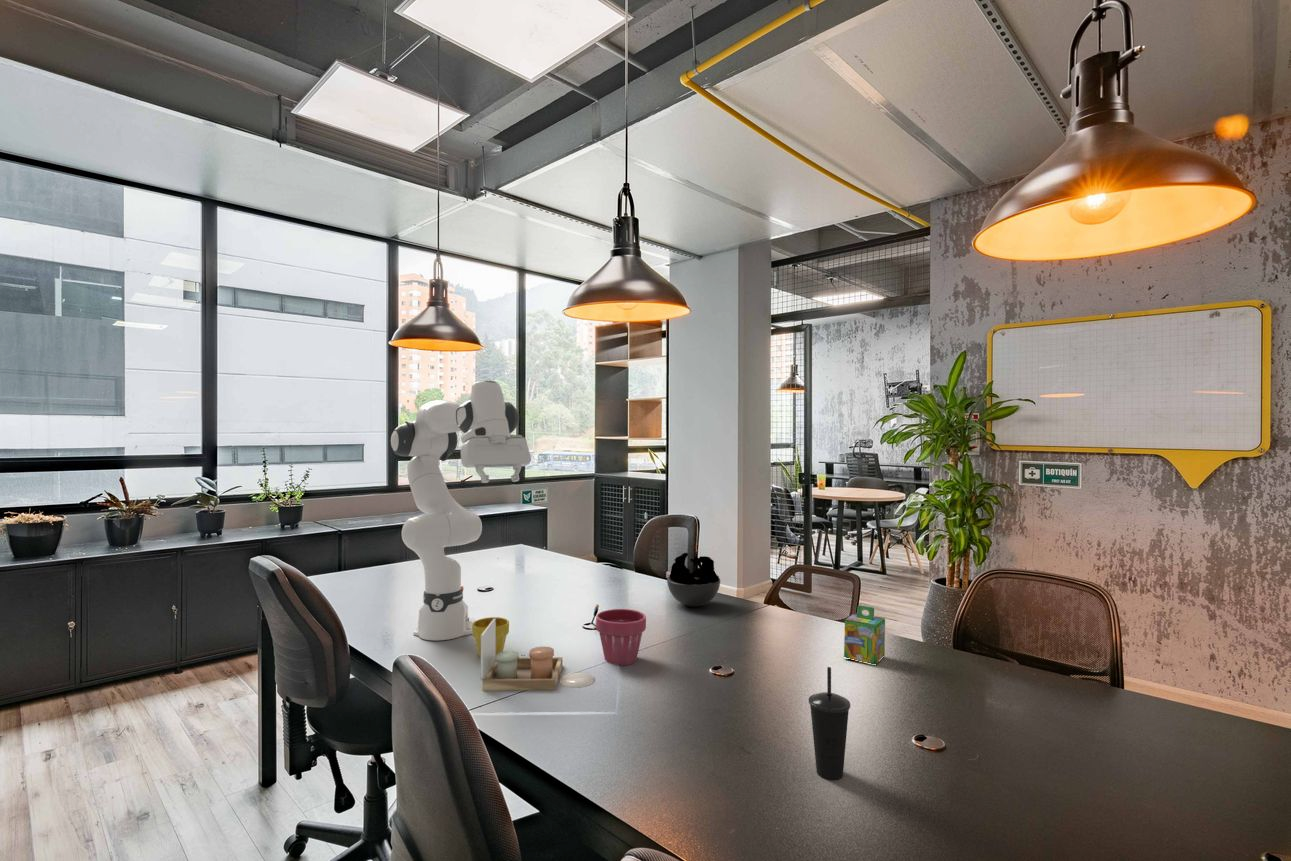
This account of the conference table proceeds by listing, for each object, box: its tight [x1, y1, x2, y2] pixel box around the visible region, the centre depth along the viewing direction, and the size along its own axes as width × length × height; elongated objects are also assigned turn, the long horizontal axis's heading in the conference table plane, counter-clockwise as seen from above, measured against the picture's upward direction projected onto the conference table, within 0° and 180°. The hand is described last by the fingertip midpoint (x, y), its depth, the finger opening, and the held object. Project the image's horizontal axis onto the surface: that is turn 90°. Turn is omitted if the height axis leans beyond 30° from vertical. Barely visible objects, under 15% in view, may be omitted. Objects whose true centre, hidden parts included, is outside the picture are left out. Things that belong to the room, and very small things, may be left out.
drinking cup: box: [808, 666, 851, 781], centre depth 118 cm, size 8×8×20 cm
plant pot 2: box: [595, 608, 647, 666], centre depth 177 cm, size 14×14×13 cm
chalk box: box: [843, 605, 886, 665], centre depth 178 cm, size 9×9×15 cm
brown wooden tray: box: [482, 656, 563, 692], centre depth 163 cm, size 16×18×3 cm
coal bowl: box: [666, 552, 721, 607], centre depth 234 cm, size 20×20×19 cm
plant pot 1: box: [471, 616, 510, 658], centre depth 181 cm, size 10×10×10 cm
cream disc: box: [559, 672, 595, 689], centre depth 161 cm, size 9×9×1 cm
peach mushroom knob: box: [528, 646, 555, 679], centre depth 163 cm, size 6×6×7 cm
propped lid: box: [480, 619, 496, 682], centre depth 163 cm, size 14×1×11 cm, turn 1°
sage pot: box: [496, 650, 520, 679], centre depth 163 cm, size 6×6×6 cm
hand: (500, 481), depth 172 cm, fingers open, 8 cm apart
